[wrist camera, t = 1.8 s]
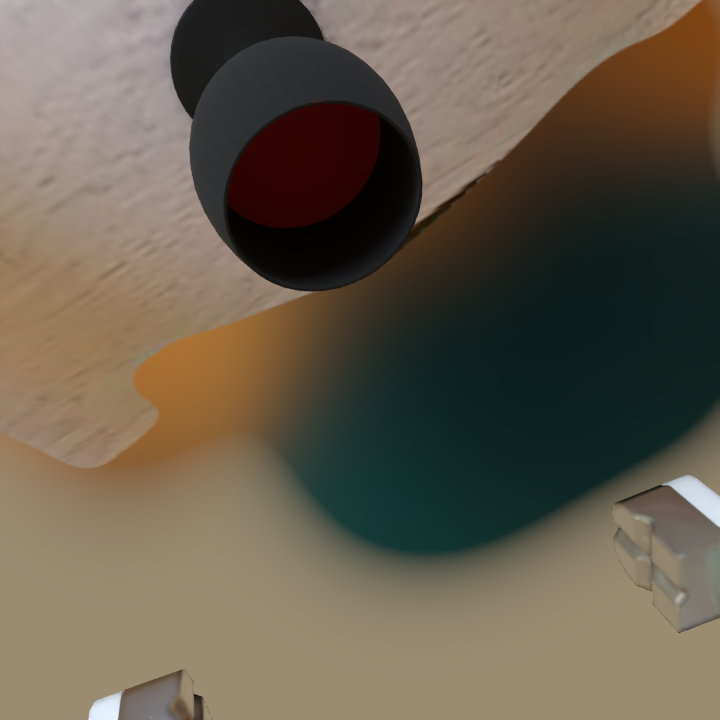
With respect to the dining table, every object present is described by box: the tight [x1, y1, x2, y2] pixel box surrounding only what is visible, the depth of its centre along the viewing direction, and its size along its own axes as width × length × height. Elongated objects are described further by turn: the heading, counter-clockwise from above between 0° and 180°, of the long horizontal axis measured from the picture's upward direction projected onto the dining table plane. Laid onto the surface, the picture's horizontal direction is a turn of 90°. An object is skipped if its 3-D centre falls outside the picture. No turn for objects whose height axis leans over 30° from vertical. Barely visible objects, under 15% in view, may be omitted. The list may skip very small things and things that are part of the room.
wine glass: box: [170, 0, 422, 291], centre depth 33 cm, size 10×10×20 cm
